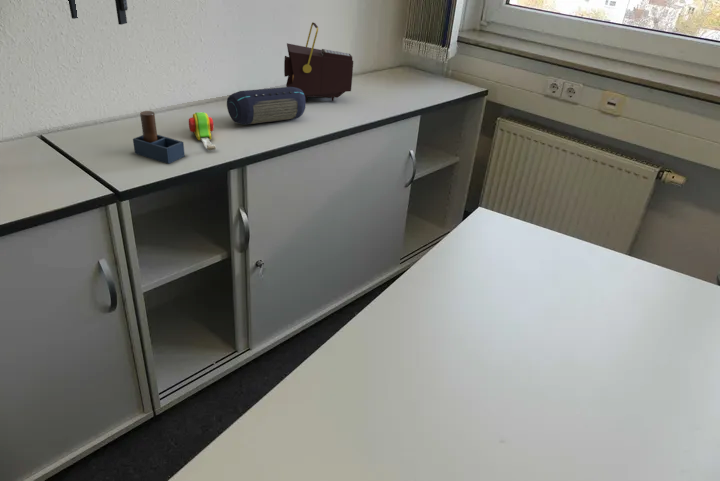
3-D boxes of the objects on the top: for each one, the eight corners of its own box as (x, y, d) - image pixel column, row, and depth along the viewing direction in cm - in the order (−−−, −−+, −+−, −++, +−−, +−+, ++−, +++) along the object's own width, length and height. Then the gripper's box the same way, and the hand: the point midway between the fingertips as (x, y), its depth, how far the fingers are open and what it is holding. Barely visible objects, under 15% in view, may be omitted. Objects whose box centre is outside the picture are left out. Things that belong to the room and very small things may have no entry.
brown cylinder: (142, 150, 142) (137, 113, 137) (152, 146, 145) (147, 110, 139) (152, 153, 141) (147, 116, 136) (161, 149, 143) (157, 112, 138)
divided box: (151, 146, 146) (149, 132, 144) (184, 156, 143) (183, 141, 140) (134, 153, 142) (132, 138, 140) (168, 163, 138) (166, 148, 136)
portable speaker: (238, 130, 160) (237, 96, 155) (224, 120, 167) (223, 88, 162) (310, 121, 174) (312, 90, 169) (295, 112, 180) (295, 82, 176)
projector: (282, 91, 199) (283, 19, 187) (344, 93, 204) (349, 23, 192) (285, 103, 185) (286, 26, 173) (351, 105, 190) (357, 30, 178)
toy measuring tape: (208, 128, 162) (207, 106, 159) (223, 150, 147) (222, 126, 144) (186, 129, 159) (184, 107, 156) (199, 151, 144) (197, 128, 141)
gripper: (28, -76, 131) (47, 17, 142) (122, -67, 127) (134, 28, 138) (49, -76, 137) (66, 13, 148) (139, -67, 134) (150, 24, 145)
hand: (99, 20), depth 143 cm, fingers open, 13 cm apart
